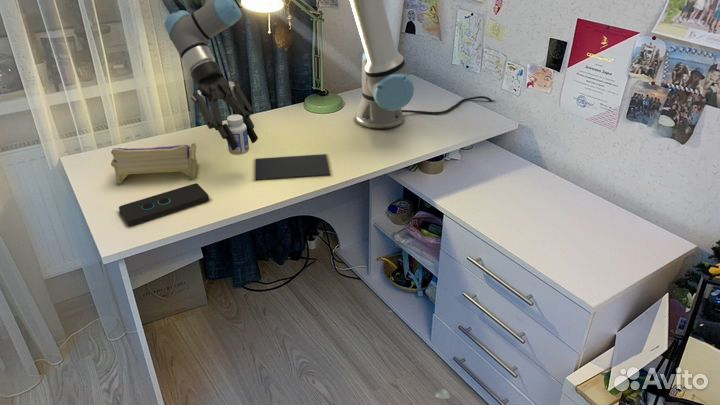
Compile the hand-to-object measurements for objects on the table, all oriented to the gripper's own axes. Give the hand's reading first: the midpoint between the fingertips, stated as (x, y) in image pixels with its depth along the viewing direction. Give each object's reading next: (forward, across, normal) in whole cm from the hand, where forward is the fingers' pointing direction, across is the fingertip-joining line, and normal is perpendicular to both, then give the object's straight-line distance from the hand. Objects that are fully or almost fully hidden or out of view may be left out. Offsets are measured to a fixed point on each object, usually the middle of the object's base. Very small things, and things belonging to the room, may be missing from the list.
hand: (245, 144), depth 146 cm
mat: (+9, -12, -6) cm, 16 cm away
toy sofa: (-6, +17, -21) cm, 27 cm away
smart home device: (+5, +23, -9) cm, 25 cm away
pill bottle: (0, 0, -5) cm, 5 cm away
